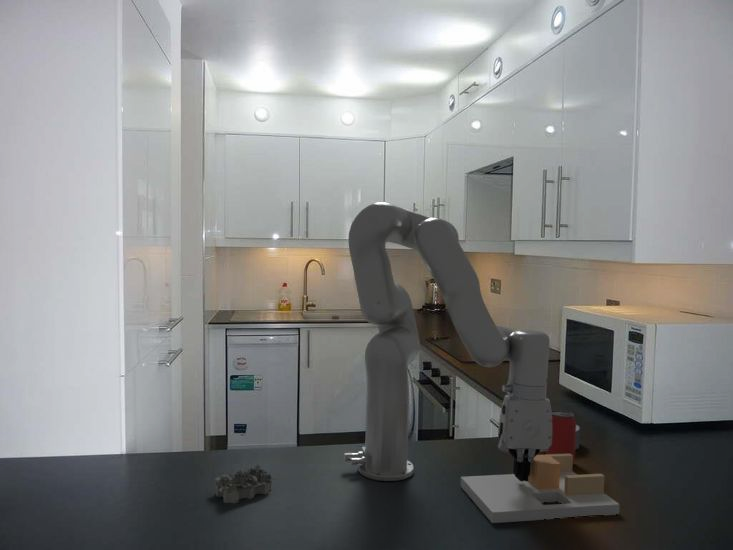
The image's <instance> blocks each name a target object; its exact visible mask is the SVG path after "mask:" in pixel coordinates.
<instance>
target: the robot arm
mask: <svg viewBox="0 0 733 550" xmlns="http://www.w3.org/2000/svg"><path fill="white" fill-rule="evenodd" d="M459 237H460V236H459V233H458V230H457V228H456V227H455V226H454V225H453V224H452V223H450V222H449V221H448V220H444V219H442V218H437V217H431V216H427V215H425V214H422V213H418V212H415V211H412V210H409V209H406V208H404V207H400V206H398V205H395V204H391V203H388V202H379V201H378V202H375V203H371V204H369V205H368V206H367V205H366V207H364V208H363V209H362V210H361V211H359V213H358V214H357V215H356V217H355V218H354V219H353V221H352V223H351V225H350V228H349V232H348V242H347V244H348V249H349V256H350V260H351V264H352V270H353V275H354V281H355V286H356V291H357V292H356V293H357V297H358V301H359V307H360V311H361V312H360V313H361V314H362V317H363V318H364V320H366V321H367V322H368V323H369V324H372V325H374V326H377V329H378V333H376V334H374V336H372V338H371V339H370V340H369V341H368V343H367V345H366V347H365V351H364V352H365V353H364V365H365V373H366V374H365V375H366V405H365V407H366V411H365V413H366V414H365V438H364V439H365V442H364V443H365V444H364V446H362V447H361V450H358V451H357V452H344V453H343V461H344V463H346V462H350V464H351V465H352V466H353V465H354V466H355V465H357V471H358V472H359V474H361V476H363V477H366V478H368V479H370V480H374V481H380V482H381V481H382V482H396V481H397V482H398V481H403V480H405V479H408V478H410V477H412V475H413V474H414V471H415V470H414V468H415V467H414V464H413V463H412V462H411V461H410V460H408V447H409V446H408V442H409V441H408V440H409V439H408V438H409V414H410V413H409V411H410V409H409V408H410V380H409V374H408V373H409V369H408V368H409V365H410V364H412V363H414V361H415V360H416V359H417V357H418V356H419V353H420V349H421V348H420V347H421V345H420V344H421V342H420V335H419V331H418V328H417V327H418V326H417V322H416V316H415V313H414V308H413V303H412V299H411V297H410V295H409V292H408V290H406V288H405V287H404V286H403V285H401V284H399V283H397V282H395V281H394V276H393V272H392V271H393V270H392V265H391V260H390V257H389V255H388V252H387V249H386V243H393V244H397V245H399V246H403V247H405V248H408V249H411V250H415V251H417V252H418V253H419V255H420V257H421V259H422V260H423V263H424V264H425V267H426V268H427V269H428V271H429V273H430V276H431V277H432V279H433V280H434V282H435V285H436V287H437V288H438V290H439V292H440V294H441V296H442V299H443V303H444V304H445V305H444V306H445V308H446V309H447V310H446V311H447V312H448V315H449V317H450V320H451V322H452V325H453V326H454V329H455V330H456V332H457V335H458V337H459V338H460V340H461V341H462V344H463V345H464V347H465V349H466V351H467V353H468V354H469V356H470V357H471V359H472V360H473V361H474V362H475V363H476V364H478V365H480V366H481V367H485V368H495V367H497V366H499V365H501V364H502V363H503V362H504V361H509V371H508V380H507V384H503V385H502V386H501V390H502V392H505V393H507V394H505V395H504V397H503V401H502V405H501V409H500V413H499V420H498V430H497V432H498V433H497V437H498V441H499V442H498V445H497V449H499V451H500V452H502V453H508V454H510V455H511V456H512V457H513V470H512V471H513V472H512V474H514V475H515V477H516V478H517V479H519V480H520V481H528V477H529V475H530V466H531V462H533V460H534V457H535V456H536V455H539V454H540V453H544V452H546V451H547V450H548V449H549V447H550V446H551V444H552V412H551V410H552V405H551V400H550V399H549V398H548V397H547V386H548V385H547V384H548V372H549V371H548V370H549V358H550V357H549V356H550V344H551V343H550V342H551V341H550V337H549V335H548V334H547V333H545V332H542V331H540V330H539V331H538V330H534V329H533V330H531V329H520V330H518V329H513V328H508V327H504V326H501V325H500V326H499V325H497V324H496V323H495V322H494V320H493V318H492V316H491V314H490V312H489V311H488V308H487V306H486V304H485V301H484V298H483V296H482V291H481V286H480V285H481V284H480V280H479V277H478V274H477V272H476V270H475V269H474V268H473V266H472V264H471V262H470V260H469V258H468V257H467V255H466V253H465V251H464V249H463V248H462V246H461V244H460V242H459V241H460V240H459Z"/></svg>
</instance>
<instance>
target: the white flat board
mask: <svg viewBox="0 0 733 550" xmlns="http://www.w3.org/2000/svg"><path fill="white" fill-rule="evenodd" d="M548 455H549V456H551V457H552V458H553V459H555V460H556V461H557V462H559V463H560V464H561V466H560V483H559V488H542V489H536V488H535V487H534V486H533V485H532V484H531V483H530V482H528V481H520V480H519V479H517V478H516V477H515V475H514V473H511V474H510V473H509V474H490V475H471V476H469V475H468V476H460V488H461V489H462V490H463V491H464V492H465V493H466V495H467V496H468V497H469V498H470V499H471V501H472V502H474V504H475V505H476V506H477V507H478V509H480V511H481V512H482V514H484V516H485V517H486V518H487V519H488V521H490V523H491V524H500V523H501V524H502V523H512V522H513V523H514V522H515V523H517V522H527V521H528V522H529V521H542V520H544V519H546V520H555V519H554V518H560V519H563V518H562V517H573V516H588V515H604V516H615V515H616V514H618V515H620V503H618V502H617V501H616V500H614V499H612V498H611V497H610V496H608V495H607V494H606V493H605V475H604V474H602V473H590V474H589V473H588V474H585V473H584V474H578V473H576V472H574V471H573V467H574V466H573V465H574V464H573V455H571V454H548ZM556 501H557V502H556ZM544 502H547V503H558V504H545V503H544ZM560 503H561V504H560Z"/></svg>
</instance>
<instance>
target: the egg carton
mask: <svg viewBox="0 0 733 550" xmlns="http://www.w3.org/2000/svg"><path fill="white" fill-rule="evenodd" d="M273 481H275V478H274V477H273V478H272V475H271V473H268V472H267V471H266V470H265V469H264V468H262V467H261V466H260V465H259V464H257V465H255V466H254V467H251V468H250V469H245V470H242V469H239V471H237V472H231V473H230V474H219V475H218V476H217V477H216V478H215V479H214V480H213V483H214V484H215V496H216V497H217V498H219V497H223V498H222V499H223V503H225V504H227V503H228V504H230V503H231V504H237V503H239V502H240V501H239V500H242V499H249V500H251V499H253V498H255V496H256V495H257V494H263V495H268V494H269V493H270V491H271V490H272V484H273Z"/></svg>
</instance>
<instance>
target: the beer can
mask: <svg viewBox="0 0 733 550" xmlns="http://www.w3.org/2000/svg"><path fill="white" fill-rule="evenodd" d="M551 412H552V444H551V446H550V447H549V449H548V450H547V451H545V455H548V454H571V455H573V465H574V464H575V458H576V450H575V437H576V425H577V422H576V417H575V414H574V413H573V412H571V411H568V410H564V409H553V410H552V409H551Z"/></svg>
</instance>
